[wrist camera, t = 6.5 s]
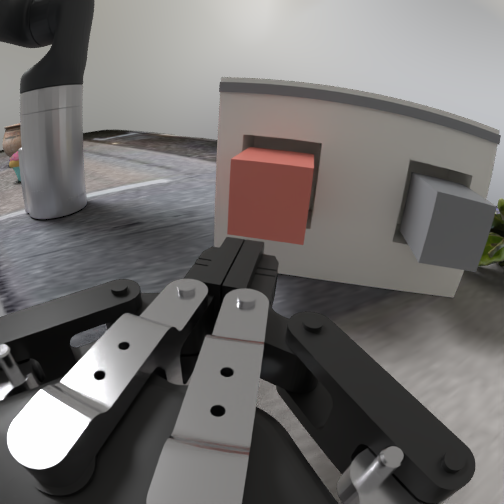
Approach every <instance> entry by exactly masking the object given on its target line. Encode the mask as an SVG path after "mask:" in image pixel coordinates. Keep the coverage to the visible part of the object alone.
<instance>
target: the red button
mask: <svg viewBox="0 0 504 504" xmlns="http://www.w3.org/2000/svg"><path fill="white" fill-rule="evenodd" d="M313 172H314V154H308V153H301V152H293V151H284V150H275V149H266V148H256V147H249V148H247V149H246V150H244V151H243V152H241V153H239V154H238V155H236V156H235V157H233V158H232V159H231V166H230V185H229V206H228V229H227V234H229V235H236V236H243V237H250V238H257V239H264V240H271V241H278V242H285V243H292V244H299V245H303V244H304V238H305V231H306V224H307V217H308V210H309V202H310V195H311V187H312V180H313Z"/></svg>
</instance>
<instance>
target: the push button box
mask: <svg viewBox="0 0 504 504" xmlns="http://www.w3.org/2000/svg"><path fill="white" fill-rule="evenodd" d="M219 92H220V106H219V124H218V143H217V166H216V192H215V226H214V247H219V248H220V246H221V245H222V243H223V242H224V240H225V239H226V237H233V238H240V239H245V240H253V241H260V242H264V254H266V255H273V256H275V257H276V259H277V260H278V262H279V266H278V273H279V274H286V275H293V276H299V277H306V278H313V279H320V280H327V281H334V282H341V283H348V284H355V285H362V286H369V287H376V288H384V289H391V290H398V291H406V292H413V293H421V294H428V295H436V296H444V297H452V298H454V295H455V293H456V290H457V288H458V285H459V283H460V280H461V278H462V275H463V272H464V270H460V269H454V268H448V267H442V266H436V265H430V264H423V263H418V261H417V259H416V257H415V256H414V254H413V252H412V250H411V249H410V247H409V245H408V244H407V242H406V240H405V239H404V237H403V235H402V234H401V232H400V230H399V228H400V224H401V220H402V215H403V211H404V207H405V202H406V198H407V193H408V188H409V183H410V178H411V173H412V172H415V173H419V174H424V175H428V176H432V177H436V178H440V179H444V180H448V181H452V182H456V183H460V184H463V185H465V186H466V187H468V188H469V189H471V190H473V191H474V192H476V193H477V194H479V195H480V196H482V197H483V198H485V199H486V198H487V194H488V190H489V185H490V181H491V176H492V171H493V166H494V161H495V156H496V150H497V144H499V143H500V135H499V130H497V129H494V128H491V127H489V126H486V125H484V124H481V123H478V122H476V121H472V120H470V119H466V118H464V117H461V116H458V115H455V114H452V113H449V112H445V111H442V110H439V109H435V108H431V107H428V106H424V105H421V104H417V103H413V102H409V101H405V100H401V99H397V98H393V97H388V96H384V95H379V94H374V93H369V92H364V91H358V90H353V89H347V88H340V87H334V86H327V85H320V84H313V83H304V82H295V81H284V80H271V79H255V78H231V77H230V78H228V77H222V78H221V82H220V88H219ZM249 147H256V148H266V149H275V150H284V151H293V152H301V153H308V154H314V172H313V180H312V187H311V195H310V202H309V210H308V217H307V224H306V231H305V238H304V244H303V245H299V244H292V243H285V242H278V241H271V240H264V239H257V238H250V237H243V236H236V235H229V234H227V229H228V206H229V185H230V166H231V159H232V158H233V157H235V156H236V155H238V154H239V153H241V152H243V151H244V150H246V149H247V148H249Z"/></svg>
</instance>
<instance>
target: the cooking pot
mask: <svg viewBox="0 0 504 504" xmlns="http://www.w3.org/2000/svg"><path fill="white" fill-rule="evenodd" d="M4 128H5V129H6V131H5V134H4V138H3V149H4V151H5V153H6V154H7V155H8V156H9V157H11V156H12V155H13V154H14V153H15V152H17V151H18V150H19V149H20V148H21V147H22V146H21V126H20V123H19V124H15V125H11V126H7V127H4Z"/></svg>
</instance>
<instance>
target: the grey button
mask: <svg viewBox="0 0 504 504" xmlns="http://www.w3.org/2000/svg"><path fill="white" fill-rule="evenodd" d="M496 208H497V207H496V206H495V205H493V204H492V203H491V202H489V201H488V200H486V199H485V198H483V197H482V196H480V195H479V194H477V193H476V192H474V191H473V190H471V189H469V188H468V187H466V186H465V185H463V184H460V183H456V182H452V181H448V180H444V179H440V178H436V177H432V176H428V175H424V174H419V173H415V172H412V173H411V178H410V183H409V188H408V193H407V198H406V202H405V207H404V211H403V215H402V220H401V224H400V228H399V230H400V232H401V234H402V235H403V237H404V239H405V240H406V242H407V244H408V245H409V247H410V249H411V250H412V252H413V254H414V256H415V257H416V259H417V261H418V263H423V264H430V265H436V266H442V267H448V268H454V269H460V270H466V271H472V272H476V270H477V268H478V265H479V262H480V259H481V257H482V254H483V251H484V248H485V245H486V242H487V239H488V236H489V232H490V229H491V226H492V222H493V219H494V215H495V212H496Z"/></svg>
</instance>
